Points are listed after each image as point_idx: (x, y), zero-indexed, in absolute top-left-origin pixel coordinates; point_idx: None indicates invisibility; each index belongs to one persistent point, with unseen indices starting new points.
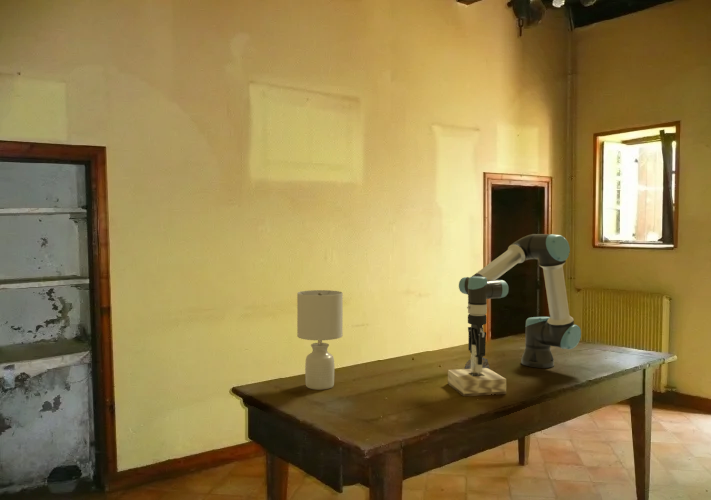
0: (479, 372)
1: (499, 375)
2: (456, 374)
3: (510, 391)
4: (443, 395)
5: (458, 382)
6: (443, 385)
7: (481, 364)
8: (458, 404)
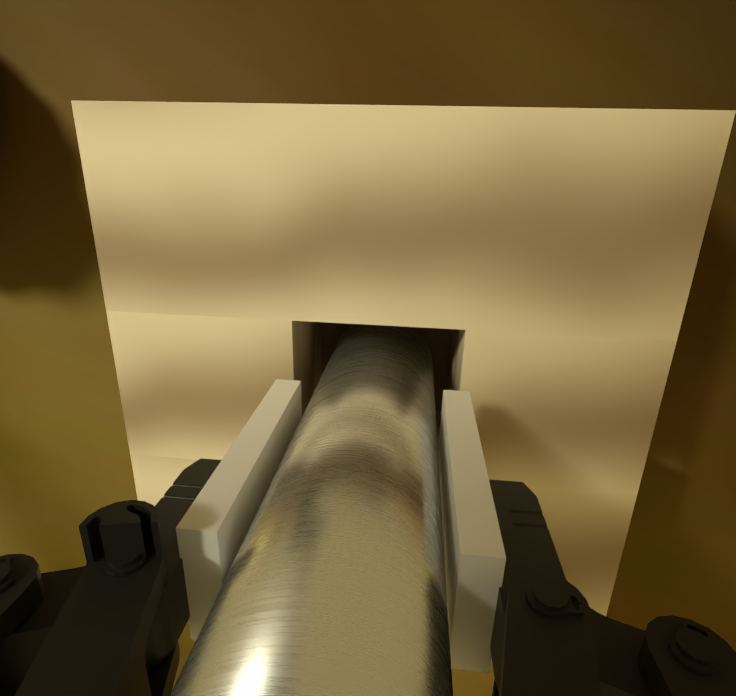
0: (434, 409)
1: (507, 119)
2: None
3: (569, 23)
4: None
5: None
6: None
7: (524, 492)
8: (726, 628)
